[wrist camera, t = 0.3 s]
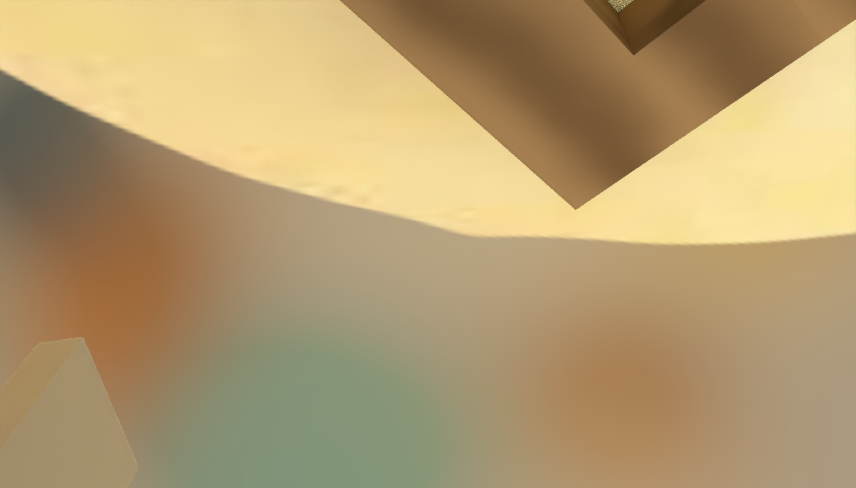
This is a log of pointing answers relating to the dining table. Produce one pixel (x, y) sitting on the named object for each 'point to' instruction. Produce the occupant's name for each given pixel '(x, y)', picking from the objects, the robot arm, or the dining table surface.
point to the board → (598, 70)
